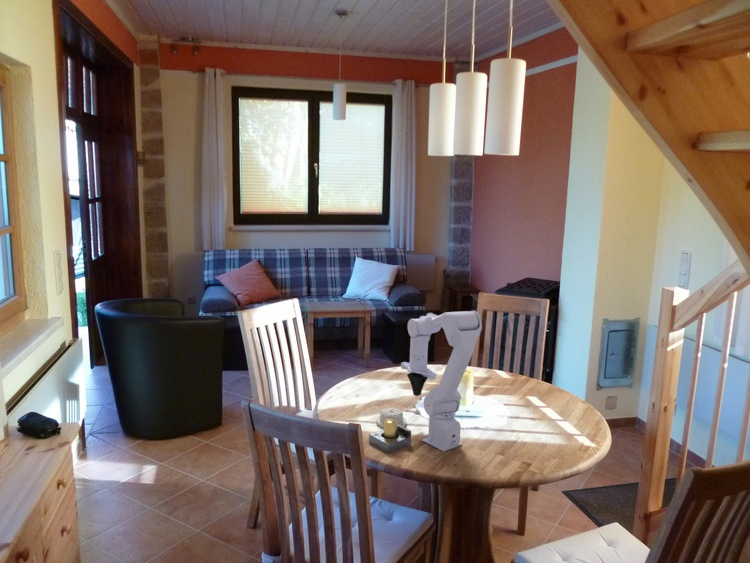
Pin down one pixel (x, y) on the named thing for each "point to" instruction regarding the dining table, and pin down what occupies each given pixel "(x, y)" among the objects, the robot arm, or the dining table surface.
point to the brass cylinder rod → (390, 429)
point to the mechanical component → (391, 416)
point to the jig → (391, 444)
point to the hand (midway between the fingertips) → (417, 394)
